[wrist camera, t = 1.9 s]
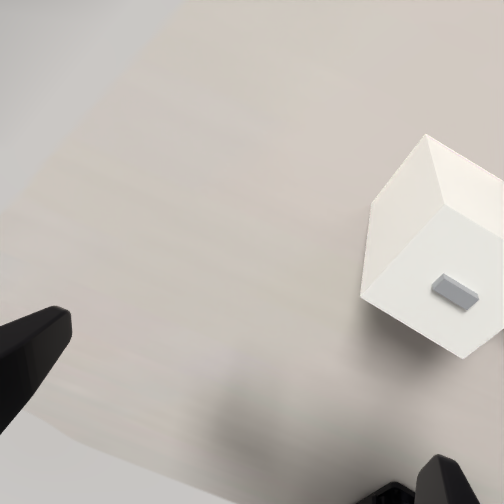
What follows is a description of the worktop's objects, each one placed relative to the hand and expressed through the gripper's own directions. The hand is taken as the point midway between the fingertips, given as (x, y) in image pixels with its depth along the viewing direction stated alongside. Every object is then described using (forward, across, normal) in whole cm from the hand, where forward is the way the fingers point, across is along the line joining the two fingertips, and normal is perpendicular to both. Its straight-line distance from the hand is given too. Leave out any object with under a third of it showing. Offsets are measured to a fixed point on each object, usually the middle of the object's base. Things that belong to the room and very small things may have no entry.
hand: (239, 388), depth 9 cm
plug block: (+13, -5, -1) cm, 14 cm away
